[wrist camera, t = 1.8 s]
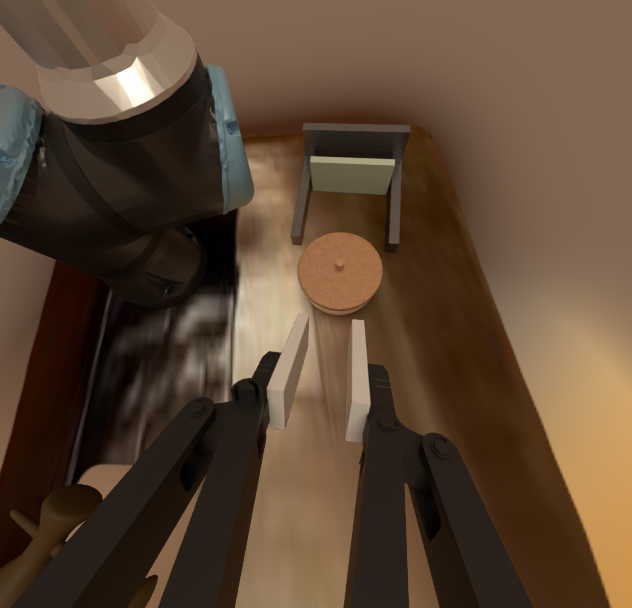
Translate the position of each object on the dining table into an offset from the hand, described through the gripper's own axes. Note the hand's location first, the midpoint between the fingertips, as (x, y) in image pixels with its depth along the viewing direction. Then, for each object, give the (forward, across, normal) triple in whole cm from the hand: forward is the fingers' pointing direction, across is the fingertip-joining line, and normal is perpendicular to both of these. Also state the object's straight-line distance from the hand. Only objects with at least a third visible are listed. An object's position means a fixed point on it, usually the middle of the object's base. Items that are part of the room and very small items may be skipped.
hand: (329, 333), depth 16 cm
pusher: (+34, 0, +8) cm, 35 cm away
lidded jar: (+20, 0, -6) cm, 21 cm away
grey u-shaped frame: (+31, 0, +6) cm, 32 cm away
